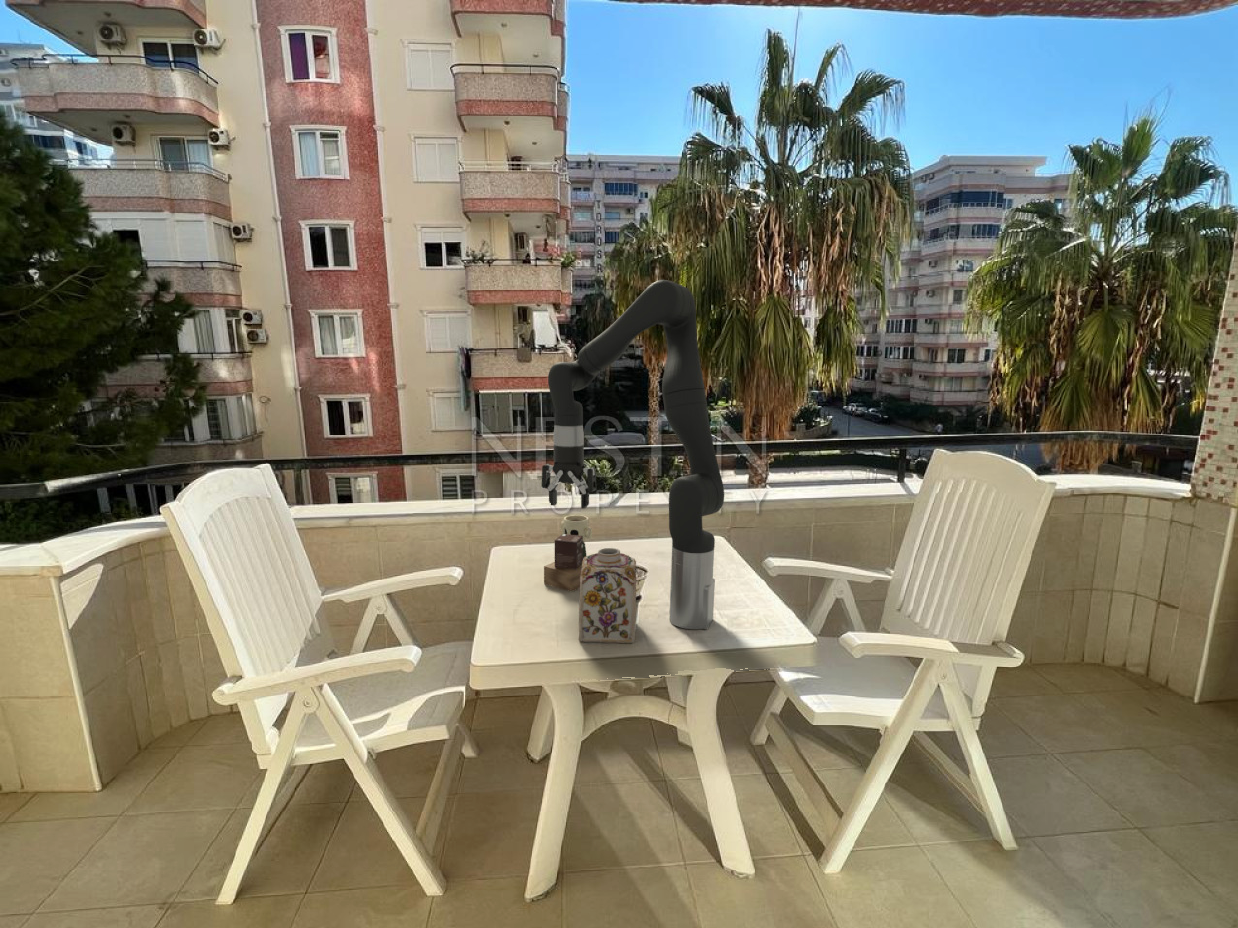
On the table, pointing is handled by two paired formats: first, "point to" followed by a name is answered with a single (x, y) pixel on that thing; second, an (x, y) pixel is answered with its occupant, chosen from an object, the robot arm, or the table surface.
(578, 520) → the character mug
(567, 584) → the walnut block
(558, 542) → the box
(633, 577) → the decorative jar
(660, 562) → the table surface
